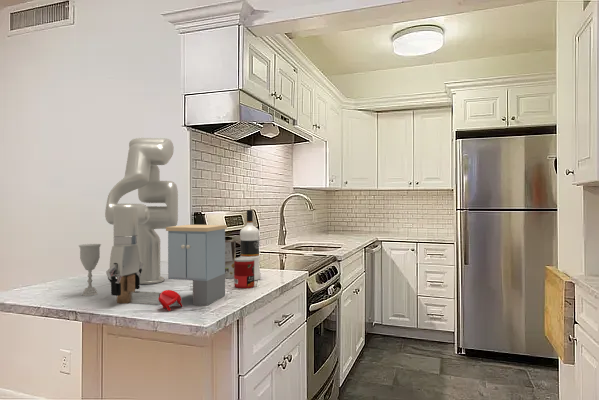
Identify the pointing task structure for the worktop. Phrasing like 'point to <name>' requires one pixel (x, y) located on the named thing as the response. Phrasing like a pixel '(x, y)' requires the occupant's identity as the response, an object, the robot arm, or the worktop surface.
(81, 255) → the chalice
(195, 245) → the cabinet
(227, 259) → the coffee box
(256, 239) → the vodka
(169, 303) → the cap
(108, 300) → the worktop surface
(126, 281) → the blade tool
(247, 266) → the canned food
